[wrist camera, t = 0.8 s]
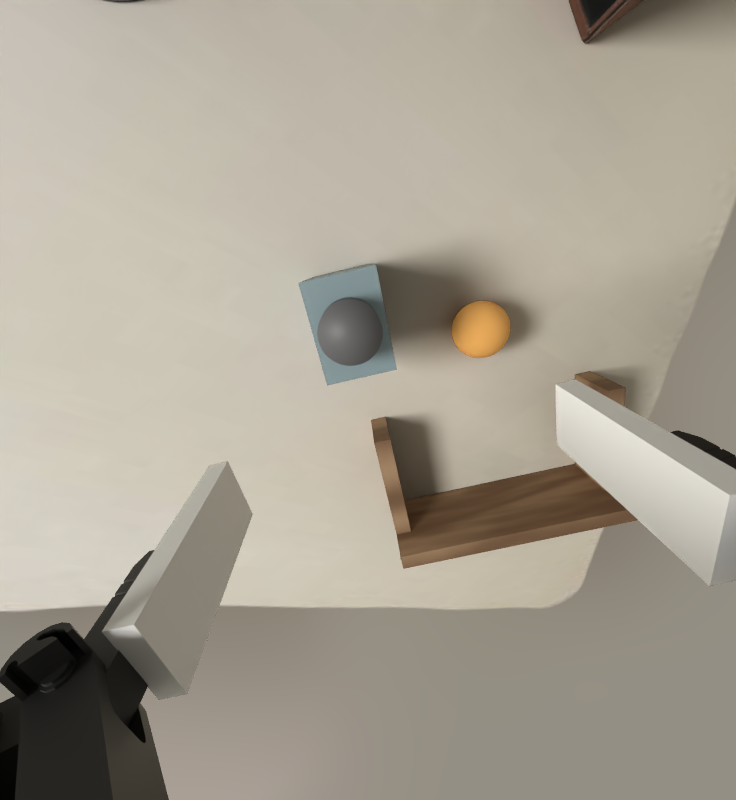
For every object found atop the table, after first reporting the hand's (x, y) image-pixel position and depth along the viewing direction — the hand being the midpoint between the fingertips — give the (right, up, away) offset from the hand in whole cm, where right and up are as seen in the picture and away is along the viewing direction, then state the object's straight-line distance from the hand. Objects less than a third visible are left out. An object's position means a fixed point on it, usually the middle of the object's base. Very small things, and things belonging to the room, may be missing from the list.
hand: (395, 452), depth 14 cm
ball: (+9, +8, +17) cm, 21 cm away
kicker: (-3, +11, +19) cm, 21 cm away
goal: (+12, -2, +24) cm, 27 cm away
